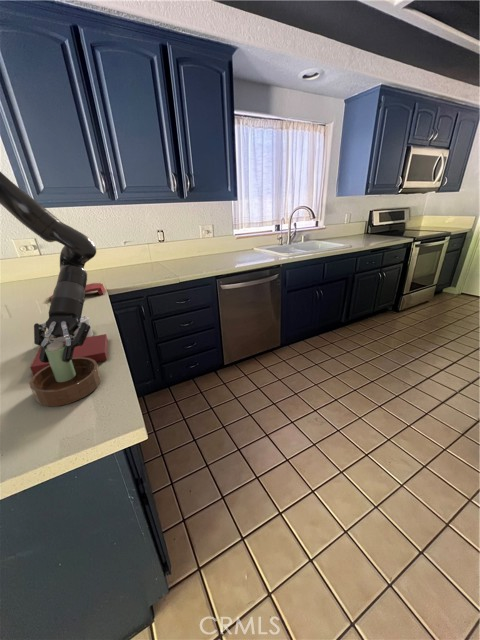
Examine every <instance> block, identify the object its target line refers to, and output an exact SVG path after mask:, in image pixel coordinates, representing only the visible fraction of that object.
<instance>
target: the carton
mask: <svg viewBox="0 0 480 640" xmlns="http://www.w3.org/2000/svg"><path fill="white" fill-rule="evenodd" d="M96 291H97V292H98V295H99V296H101V295H104V294H105V291H106V288H105V285H104V284H103V283H101V282H93V283H89V284H86V289H85V294H86V293H91V292H96ZM52 296H53V294H52V295H50V296H49V299H50V301H51V300H52Z"/></svg>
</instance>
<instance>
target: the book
mask: <svg viewBox="0 0 480 640" xmlns="http://www.w3.org/2000/svg"><path fill="white" fill-rule="evenodd" d="M63 343H65V344H66V341H63ZM108 348H109V339H108V335H107V333H105V334H99V335H92V336H91V337H86V339H85V341H84V343H83V345H82V346H77V347H75V348H74V352H73V357H72V358H77V357H85V358H91V359H93V360H95V361H96V363H100V362H105V361H108ZM40 352H41V346H39V349H38V351H37V353H36V354H35V357H34V359H33V361H32V362H31V364H30V367H29V368H30V370H31V373H32V375H33V376H34V375H35V374H36V373H37V372H39V371H40V370H42V369H43V368H45V367H47V366H49V365H50V363H49V362H48V363H44V362H41V361H40V359H39V356H40Z"/></svg>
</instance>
